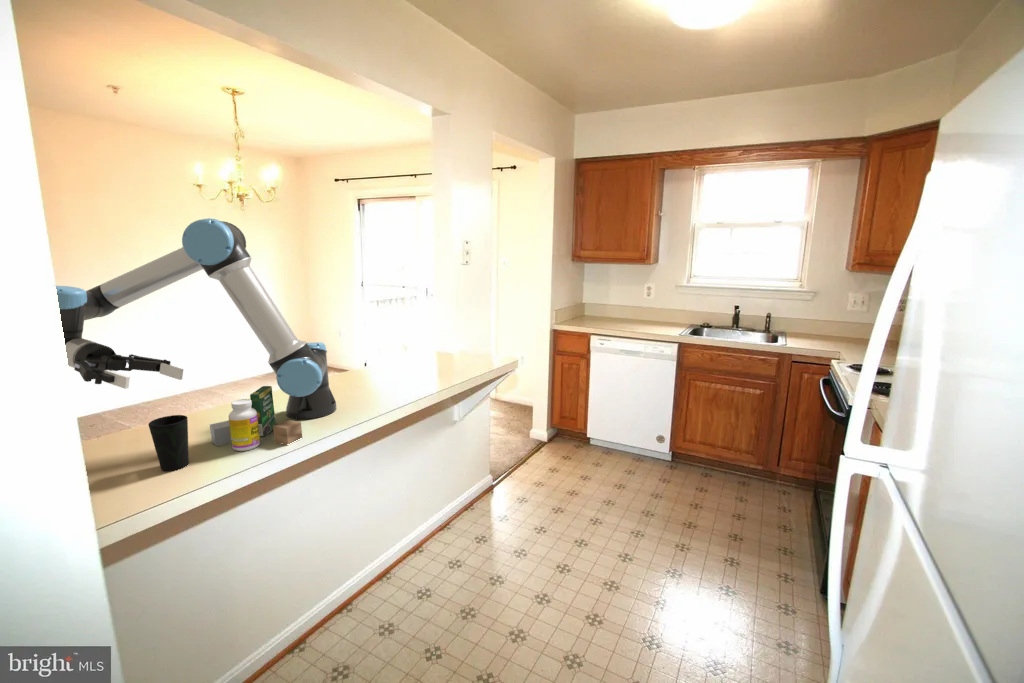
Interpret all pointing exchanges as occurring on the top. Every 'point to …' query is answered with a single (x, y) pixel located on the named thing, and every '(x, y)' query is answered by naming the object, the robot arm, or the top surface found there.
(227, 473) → the top surface
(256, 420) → the supplement bottle
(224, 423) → the grey block
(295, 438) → the walnut block
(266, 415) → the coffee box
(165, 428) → the cup
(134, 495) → the top surface
